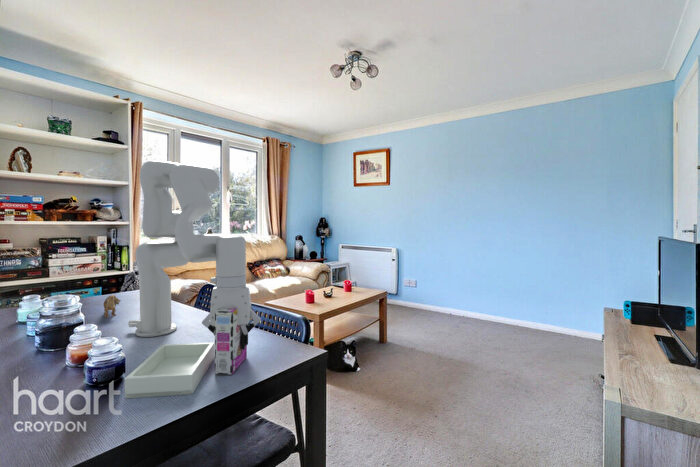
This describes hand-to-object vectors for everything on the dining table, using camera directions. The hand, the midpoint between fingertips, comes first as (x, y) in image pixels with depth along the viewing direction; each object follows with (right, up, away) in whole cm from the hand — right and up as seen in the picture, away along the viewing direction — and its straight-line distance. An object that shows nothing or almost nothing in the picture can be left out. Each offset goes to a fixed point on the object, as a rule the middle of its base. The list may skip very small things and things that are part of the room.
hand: (232, 347), depth 91 cm
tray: (-12, -5, -6) cm, 14 cm away
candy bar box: (0, -5, 0) cm, 5 cm away
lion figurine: (-66, -3, +47) cm, 82 cm away
